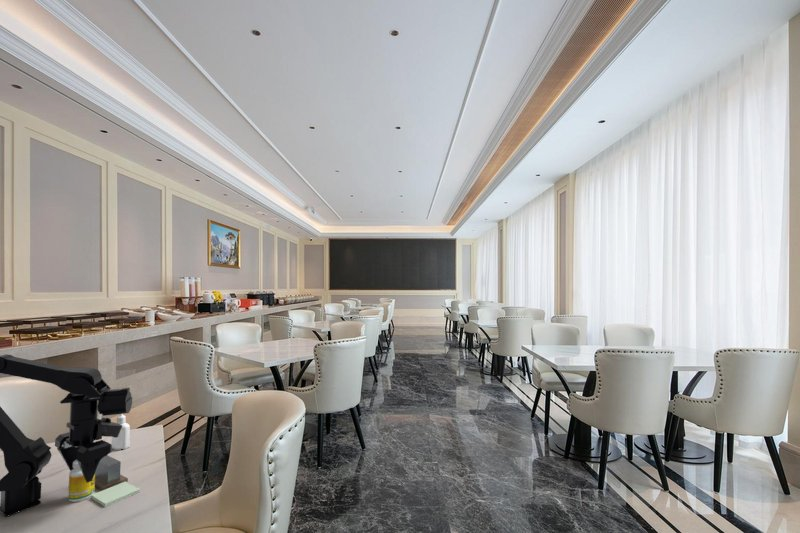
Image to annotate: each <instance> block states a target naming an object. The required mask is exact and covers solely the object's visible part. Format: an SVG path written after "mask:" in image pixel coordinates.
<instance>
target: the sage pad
mask: <svg viewBox="0 0 800 533" xmlns="http://www.w3.org/2000/svg"><path fill="white" fill-rule="evenodd" d="M138 493H141V489H140V488H139V487H138V486H135V485H134V484H132V483H129V481H128V482H126V481H125V482H123V483H120V484H118V485H115V486H113V487H110V488H108V489H105V490H103V491H101V490H100V491H98V492H94V494H93V495H91V497H90V498H91V499H92V500H93V501H95V502H97V503H98V504H100V505H101V506H103V507H104V508H106V507H108V506H111V505H113V504H115V503H118V502H120V501H122V500H125V499H127V498H129V497H132V496H133V495H136V494H138Z"/></svg>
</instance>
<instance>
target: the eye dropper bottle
mask: <svg viewBox="0 0 800 533" xmlns="http://www.w3.org/2000/svg"><path fill="white" fill-rule="evenodd" d="M126 418H127V417H126V415H124V414H119V416H117V417H116V423H118V424H120V425H122V428H121V430H120V433H119V436H118V437H111V445H112V450H114V451H116V450H117V451H122V450H121V449H123V450H126V449H128V448H130V446H131V444H130V442H131V438H130V437H131V426H130V424H129V423H128V422H126V420H127V419H126ZM125 431H127V432H125Z"/></svg>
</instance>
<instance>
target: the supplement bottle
mask: <svg viewBox="0 0 800 533" xmlns="http://www.w3.org/2000/svg"><path fill="white" fill-rule="evenodd" d="M73 468H74V469H72V470H71V471H70V470H69V474H68V500H67V501H69V502H71V503H76V502H77V503H78V502H82V501H85V500H87V499H89V498H91V495H93V494H95V488H96V487H95V474H94V477H93V479H92V481H90V482H88V483H87V482H86V480H85V478H84V476H83V473H82V471H81V469H80V466H79V464H78V462H77V460H75V461H74V462H73Z"/></svg>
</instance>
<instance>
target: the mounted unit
mask: <svg viewBox="0 0 800 533" xmlns="http://www.w3.org/2000/svg"><path fill="white" fill-rule="evenodd" d="M121 462H122V461H121V460H119V459H116V458H114V457H112V456H110V455H109V454H108V455H107V456H105V457H103V458H102V459H101V460H100V462H99V464H98V466H97V469H96V471H95V488H96V489H98V490H100V491H103V490H105V489H108V488H110V487H113V486H115V485H118V484H120V483H123V482H125V481H126V482H128V483H129V479H128V478H129V477H127V476H124V475H122V473H121Z"/></svg>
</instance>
